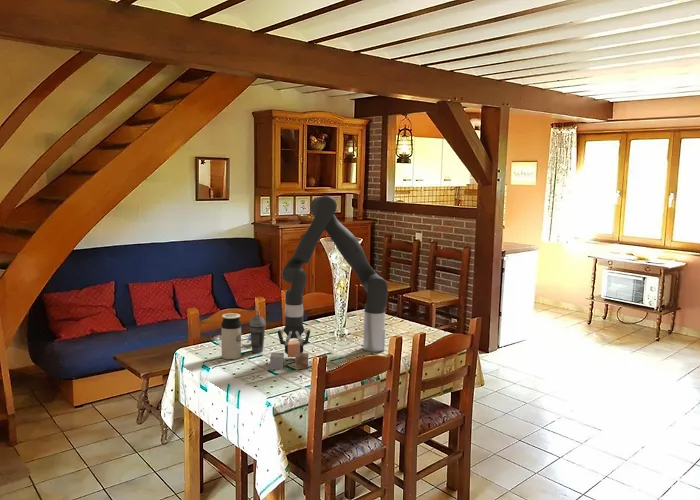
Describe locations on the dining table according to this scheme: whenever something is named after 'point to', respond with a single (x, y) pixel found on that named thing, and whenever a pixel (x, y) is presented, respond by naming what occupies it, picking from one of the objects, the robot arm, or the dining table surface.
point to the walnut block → (301, 361)
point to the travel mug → (231, 336)
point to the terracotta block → (293, 349)
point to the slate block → (276, 360)
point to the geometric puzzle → (249, 337)
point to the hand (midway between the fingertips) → (294, 353)
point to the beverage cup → (257, 333)
